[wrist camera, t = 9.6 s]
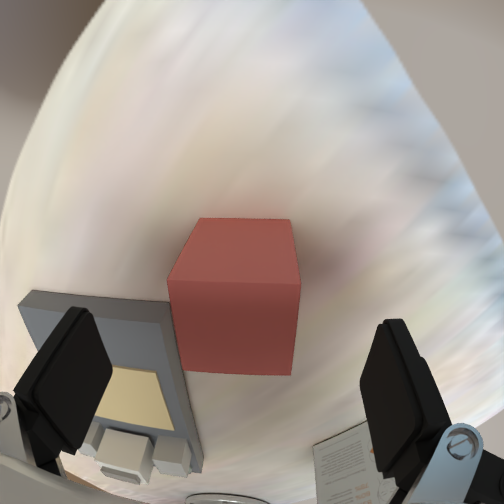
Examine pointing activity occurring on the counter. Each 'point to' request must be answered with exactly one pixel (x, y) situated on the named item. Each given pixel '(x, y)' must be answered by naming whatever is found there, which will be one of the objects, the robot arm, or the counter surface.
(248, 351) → the red block
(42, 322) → the breaker panel
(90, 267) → the counter surface
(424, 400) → the robot arm
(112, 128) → the counter surface
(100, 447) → the breaker switch
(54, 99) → the counter surface
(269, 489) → the counter surface
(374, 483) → the small box
